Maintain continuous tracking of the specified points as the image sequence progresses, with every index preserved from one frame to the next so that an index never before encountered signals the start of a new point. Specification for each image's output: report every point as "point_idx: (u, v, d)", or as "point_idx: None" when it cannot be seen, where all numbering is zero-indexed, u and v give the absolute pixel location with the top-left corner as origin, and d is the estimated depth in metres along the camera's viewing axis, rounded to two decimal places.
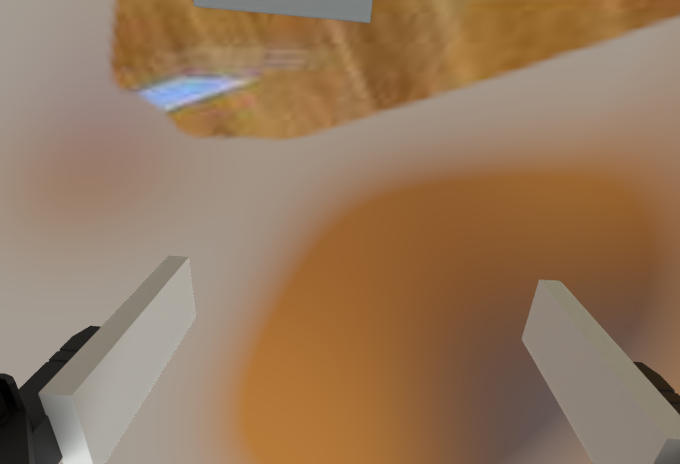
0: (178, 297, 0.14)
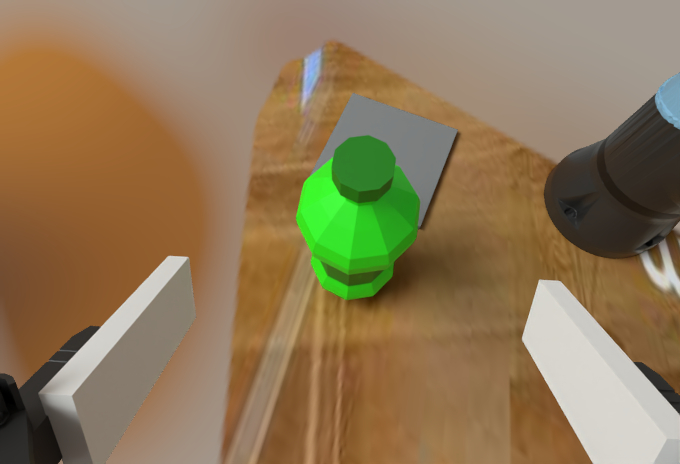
0: (178, 297, 0.14)
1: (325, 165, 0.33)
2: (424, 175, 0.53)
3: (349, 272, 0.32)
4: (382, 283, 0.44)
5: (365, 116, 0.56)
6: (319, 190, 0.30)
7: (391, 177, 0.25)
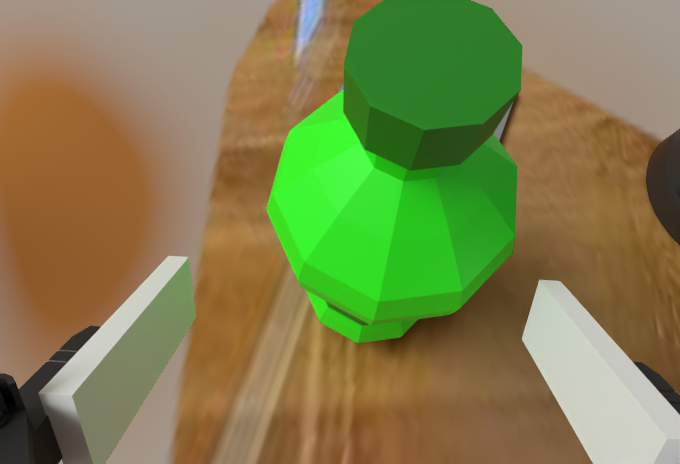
0: (178, 297, 0.14)
1: (327, 104, 0.16)
2: None
3: (373, 323, 0.15)
4: (416, 319, 0.27)
5: None
6: (313, 149, 0.14)
7: (514, 93, 0.09)
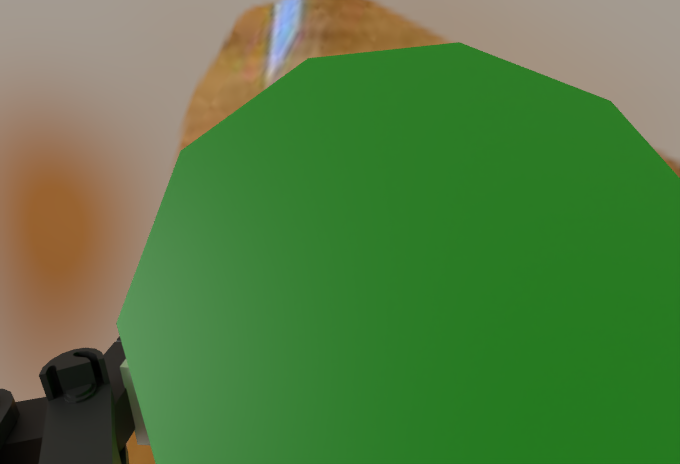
0: None
1: None
2: None
3: None
4: None
5: None
6: None
7: None
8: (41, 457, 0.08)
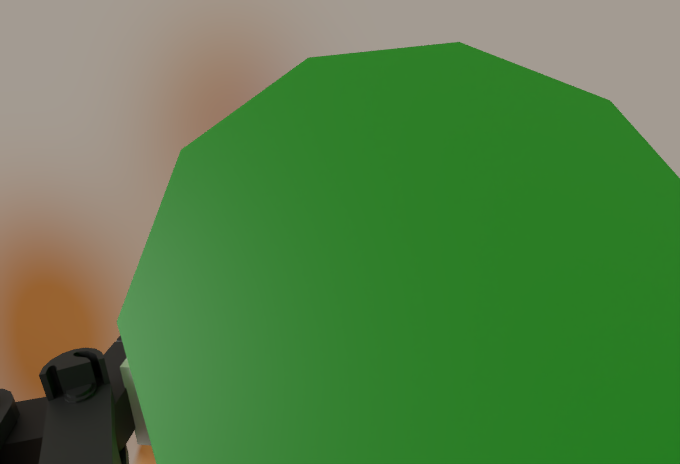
0: None
1: None
2: None
3: None
4: None
5: None
6: None
7: None
8: (41, 457, 0.08)
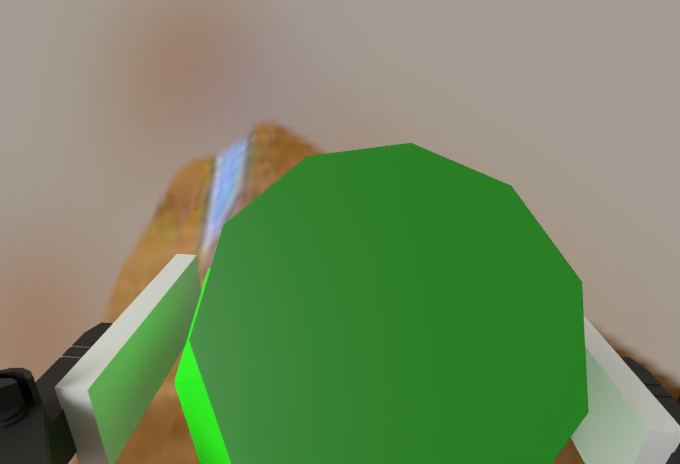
0: (186, 294, 0.14)
1: None
2: None
3: None
4: None
5: None
6: None
7: (573, 421, 0.04)
8: None
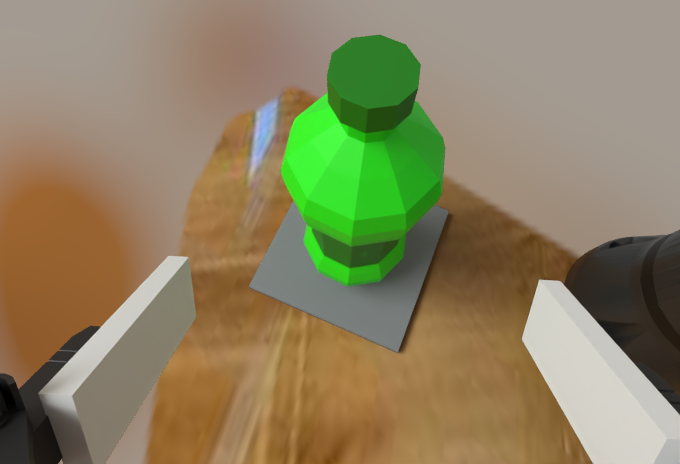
0: (178, 297, 0.14)
1: (319, 100, 0.25)
2: (404, 276, 0.40)
3: (352, 241, 0.24)
4: (391, 265, 0.36)
5: None
6: (311, 128, 0.22)
7: (414, 89, 0.17)
8: None
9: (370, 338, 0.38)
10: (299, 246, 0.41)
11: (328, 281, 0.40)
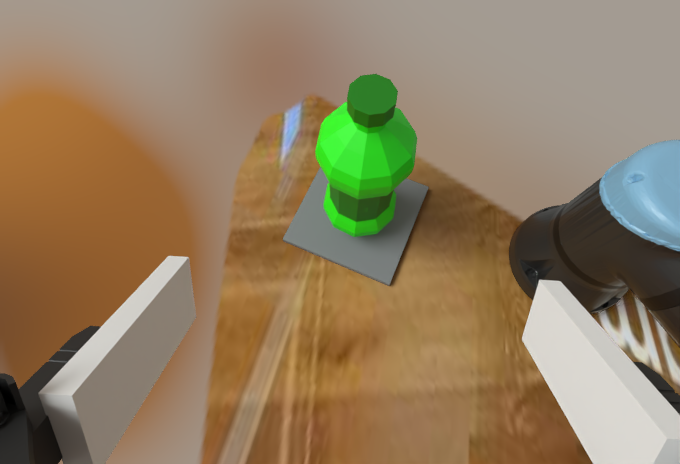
0: (178, 297, 0.14)
1: (339, 108, 0.40)
2: (395, 232, 0.55)
3: (359, 194, 0.39)
4: (385, 221, 0.51)
5: None
6: (335, 125, 0.38)
7: (394, 104, 0.33)
8: None
9: (370, 275, 0.53)
10: (318, 211, 0.57)
11: (340, 236, 0.55)
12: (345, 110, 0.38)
